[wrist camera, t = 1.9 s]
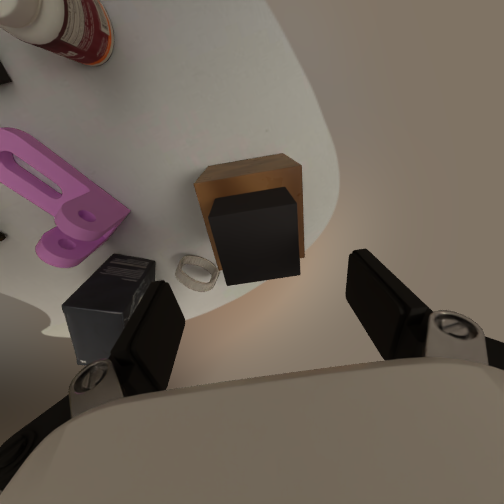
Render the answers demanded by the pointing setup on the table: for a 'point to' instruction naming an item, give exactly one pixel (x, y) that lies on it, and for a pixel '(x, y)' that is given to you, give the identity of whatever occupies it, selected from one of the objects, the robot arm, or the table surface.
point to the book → (2, 237)
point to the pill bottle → (61, 27)
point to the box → (106, 305)
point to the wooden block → (250, 186)
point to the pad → (256, 235)
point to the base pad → (4, 75)
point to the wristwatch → (191, 282)
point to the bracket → (59, 200)
